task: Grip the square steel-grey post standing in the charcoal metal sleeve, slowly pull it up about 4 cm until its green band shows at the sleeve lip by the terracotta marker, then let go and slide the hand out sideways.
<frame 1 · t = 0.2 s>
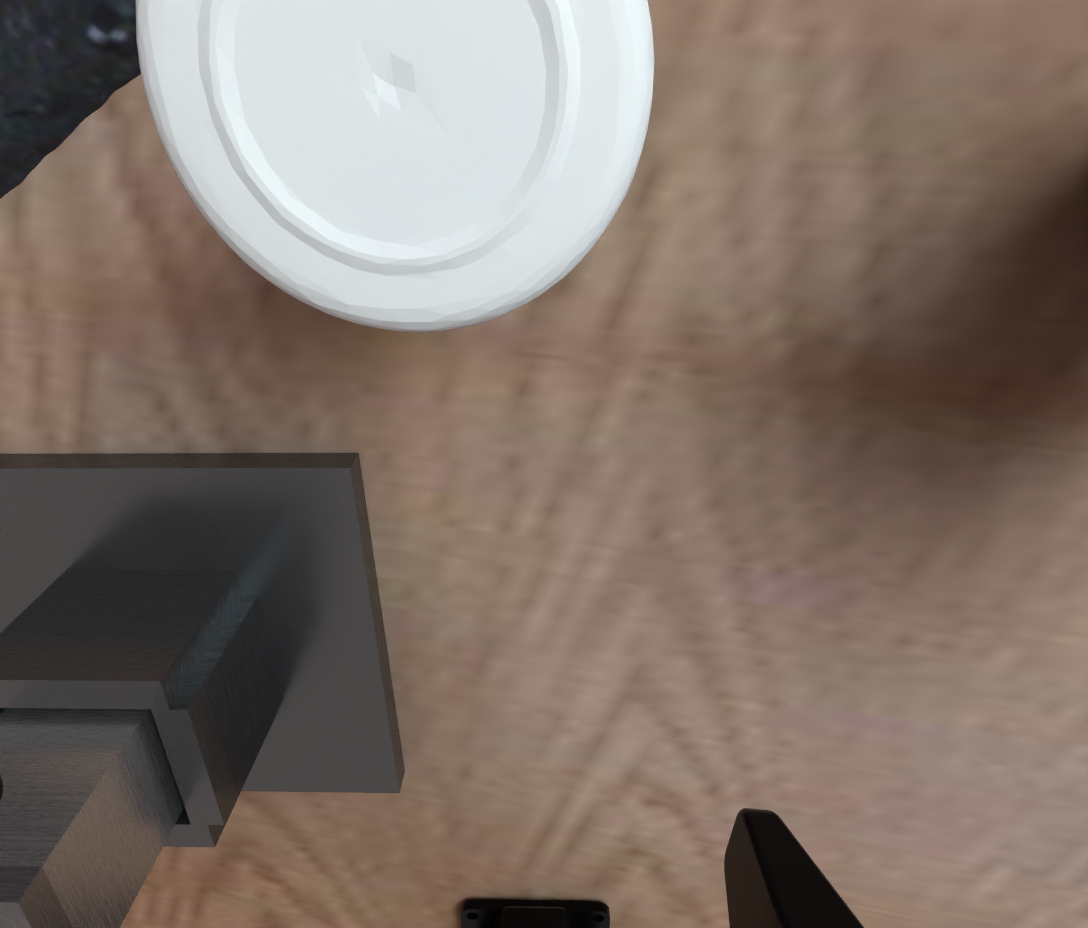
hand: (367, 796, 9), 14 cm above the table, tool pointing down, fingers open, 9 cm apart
column: (90, 771, 21), point 6 cm above the table, slide at 0.0 cm
stand: (189, 630, 26), on the table
sprinkles bottle: (507, 87, 18), on the table
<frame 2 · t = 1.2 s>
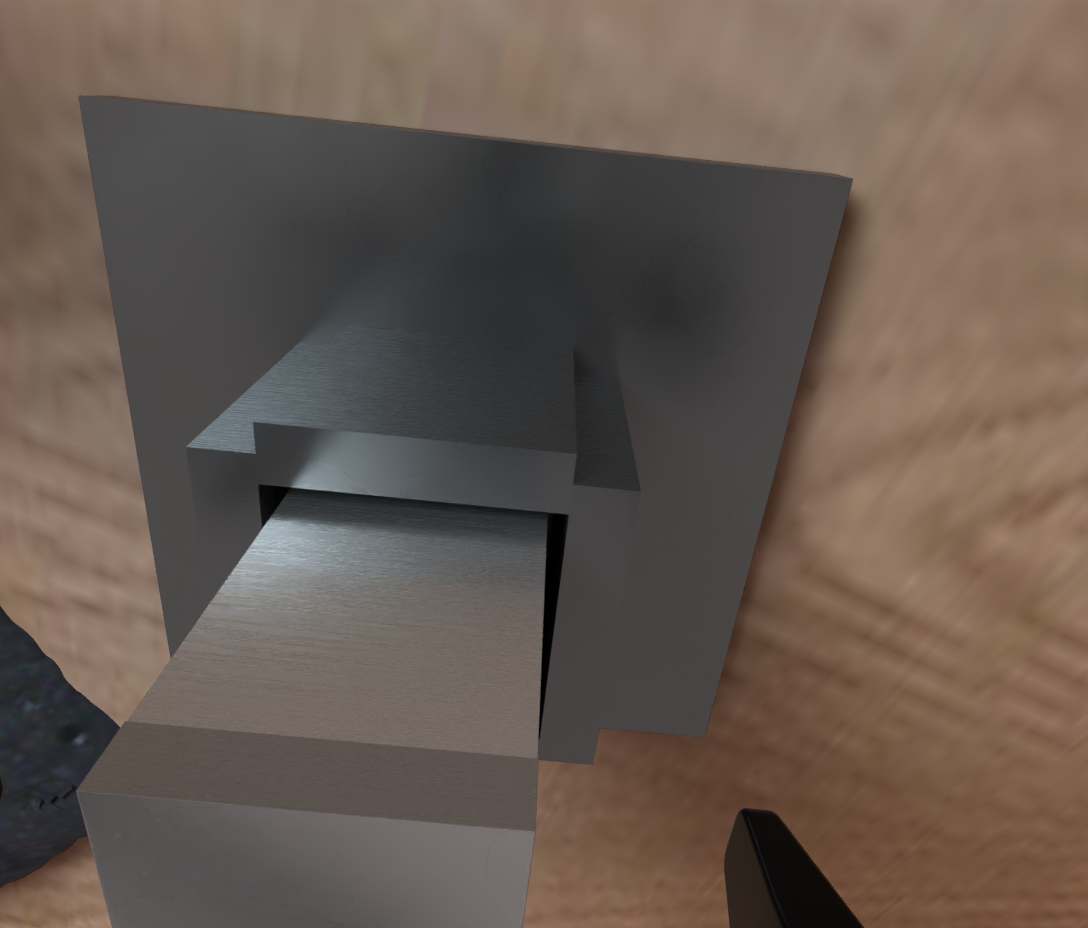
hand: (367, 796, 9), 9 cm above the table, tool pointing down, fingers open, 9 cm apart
column: (410, 627, 12), point 6 cm above the table, slide at 0.0 cm
stand: (459, 460, 17), on the table
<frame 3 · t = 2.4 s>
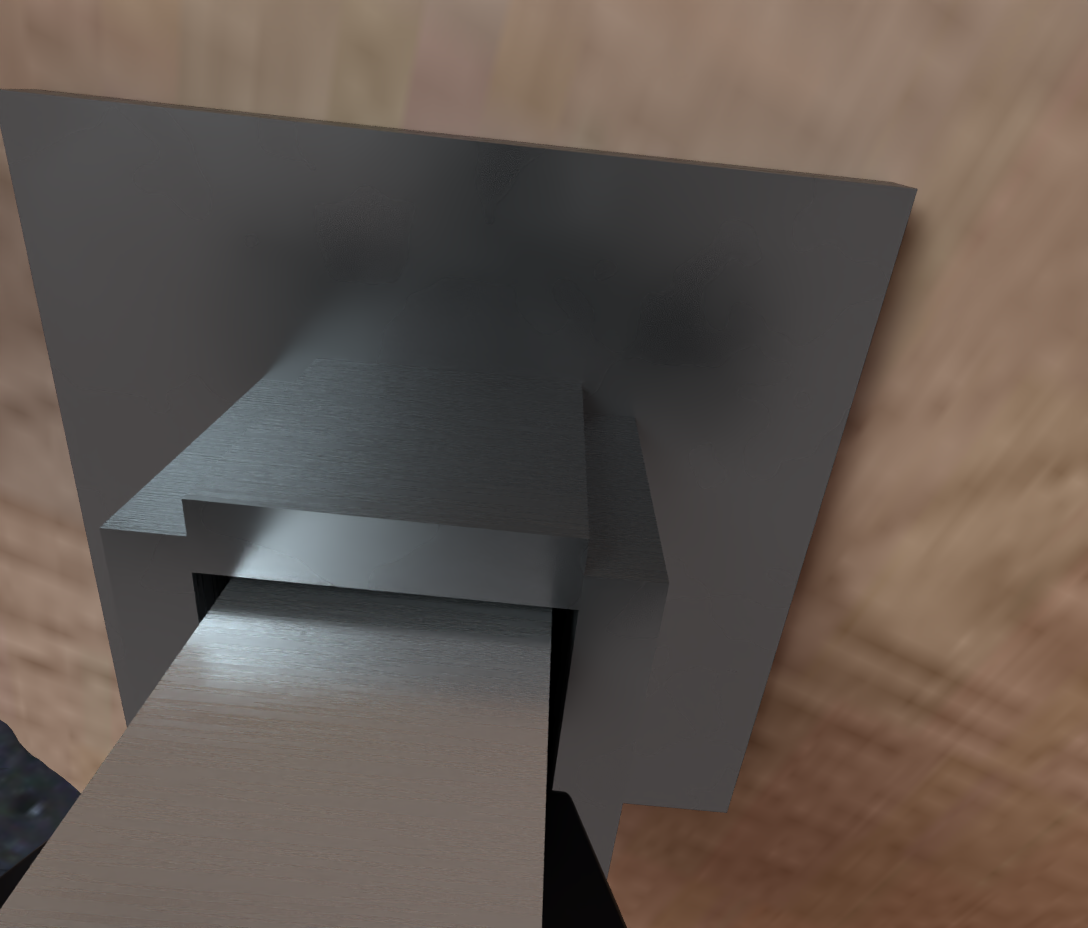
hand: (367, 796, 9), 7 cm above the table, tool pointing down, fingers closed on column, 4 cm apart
column: (384, 737, 10), point 6 cm above the table, slide at 0.0 cm, touching gripper
stand: (450, 507, 15), on the table
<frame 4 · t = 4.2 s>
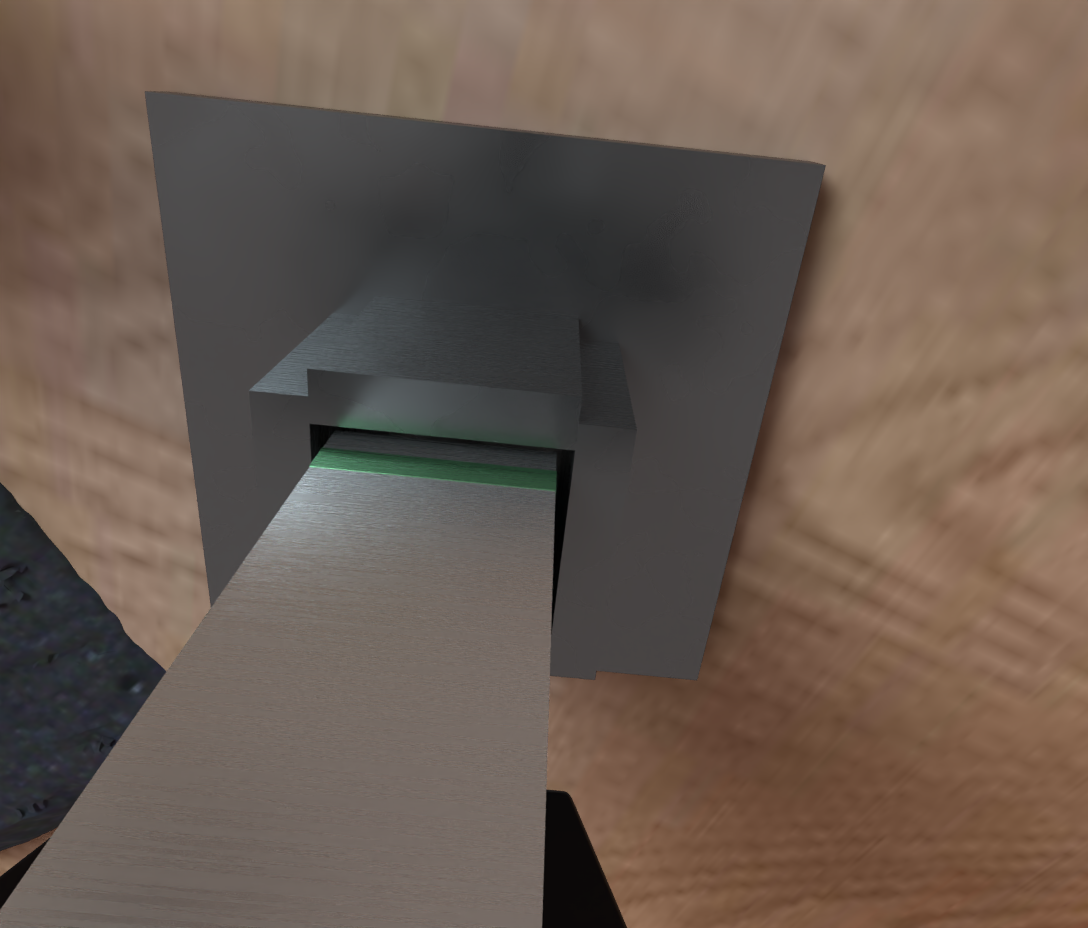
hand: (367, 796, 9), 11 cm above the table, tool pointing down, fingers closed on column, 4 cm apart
column: (384, 737, 10), point 11 cm above the table, slide at 4.4 cm, touching gripper
stand: (474, 422, 19), on the table
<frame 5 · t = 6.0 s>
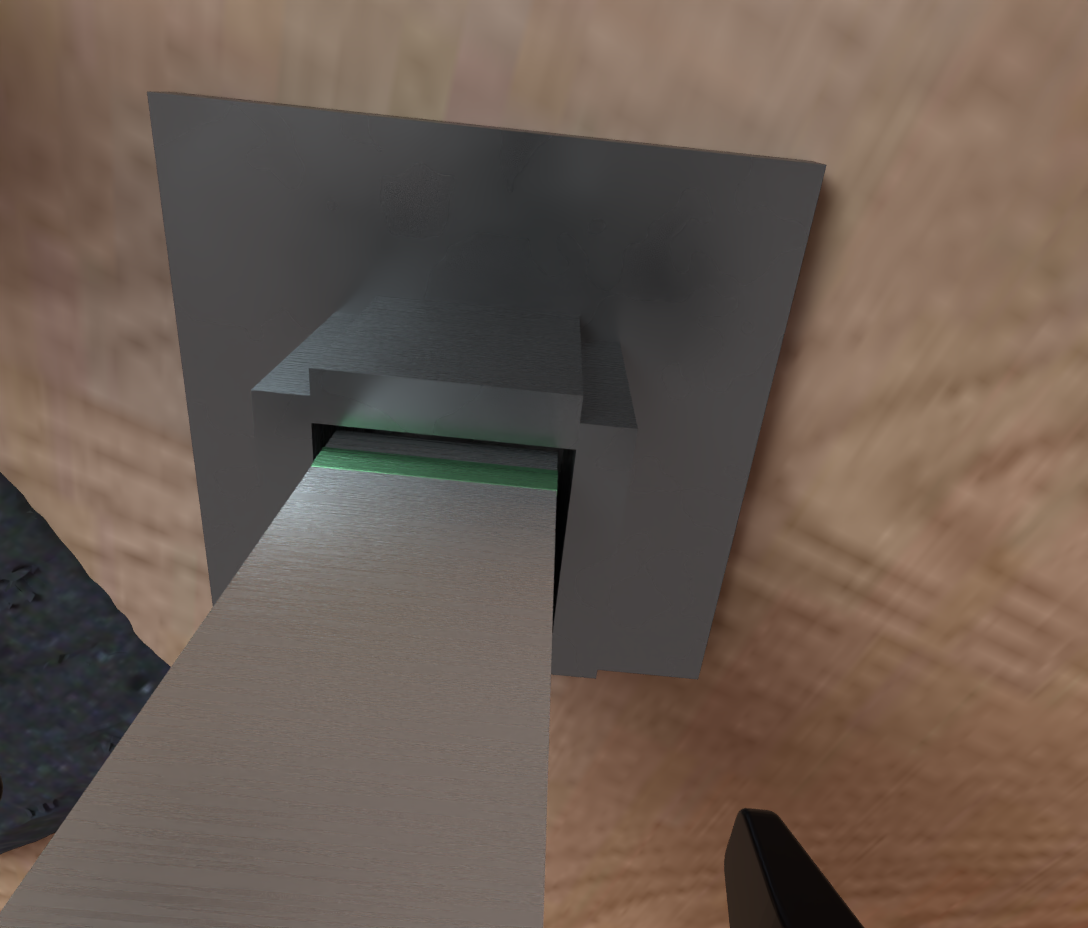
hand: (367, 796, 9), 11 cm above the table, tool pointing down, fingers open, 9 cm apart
column: (385, 736, 10), point 11 cm above the table, slide at 4.4 cm
stand: (475, 421, 19), on the table
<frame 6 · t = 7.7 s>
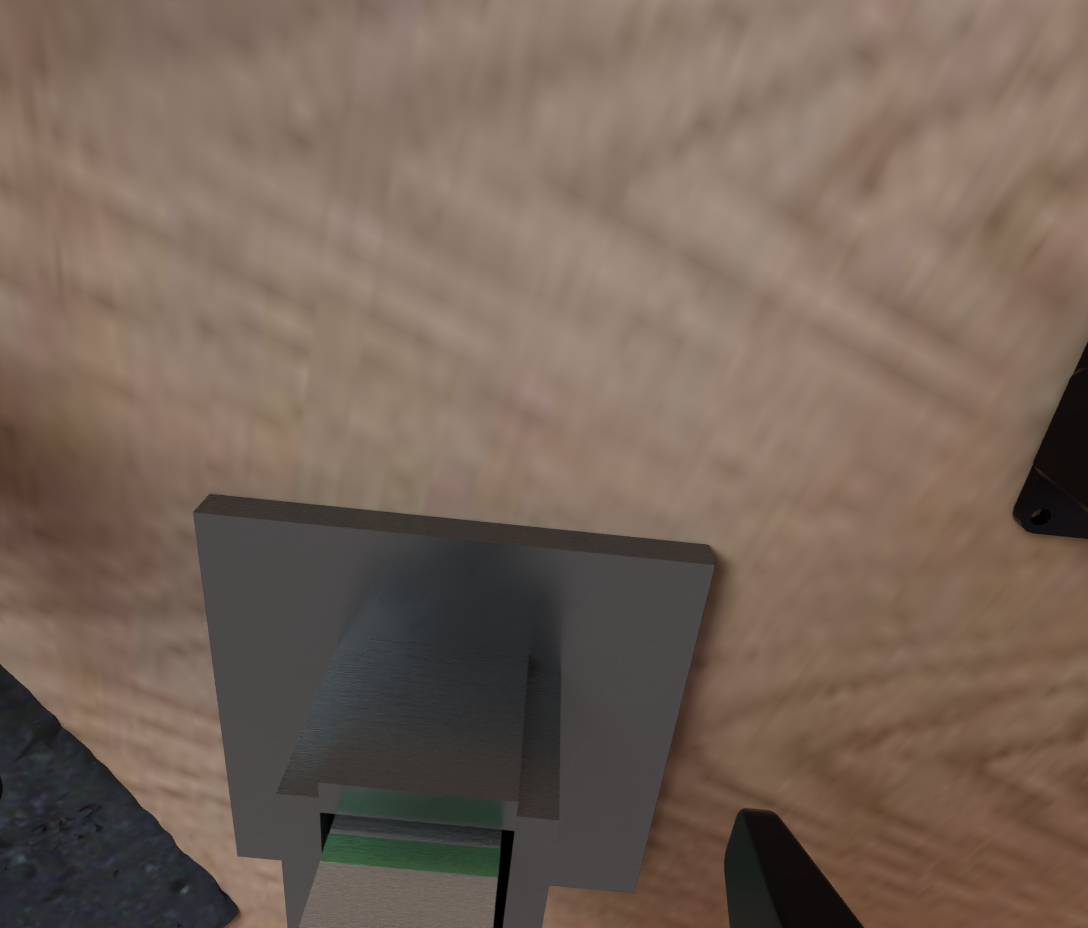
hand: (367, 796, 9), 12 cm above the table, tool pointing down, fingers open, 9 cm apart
stand: (449, 705, 24), on the table
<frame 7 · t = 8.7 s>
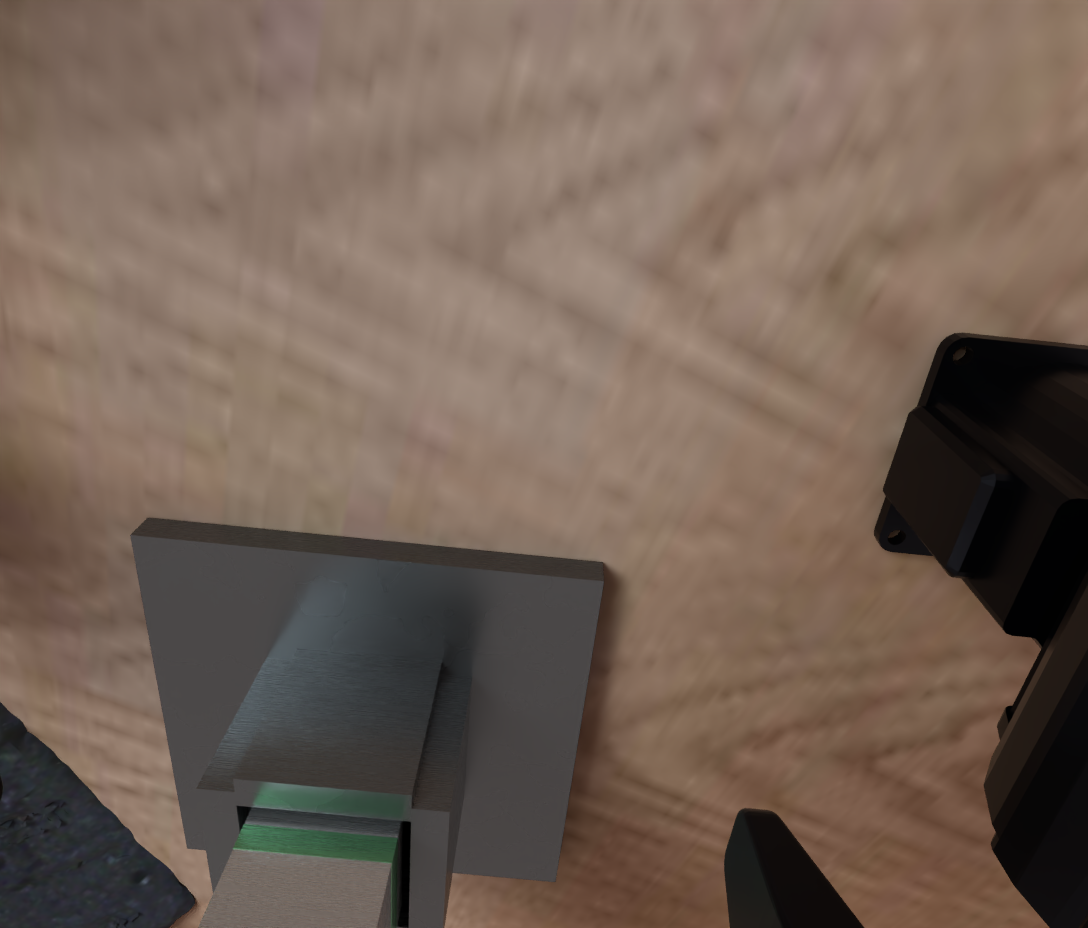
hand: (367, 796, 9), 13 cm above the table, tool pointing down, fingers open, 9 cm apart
stand: (377, 709, 26), on the table
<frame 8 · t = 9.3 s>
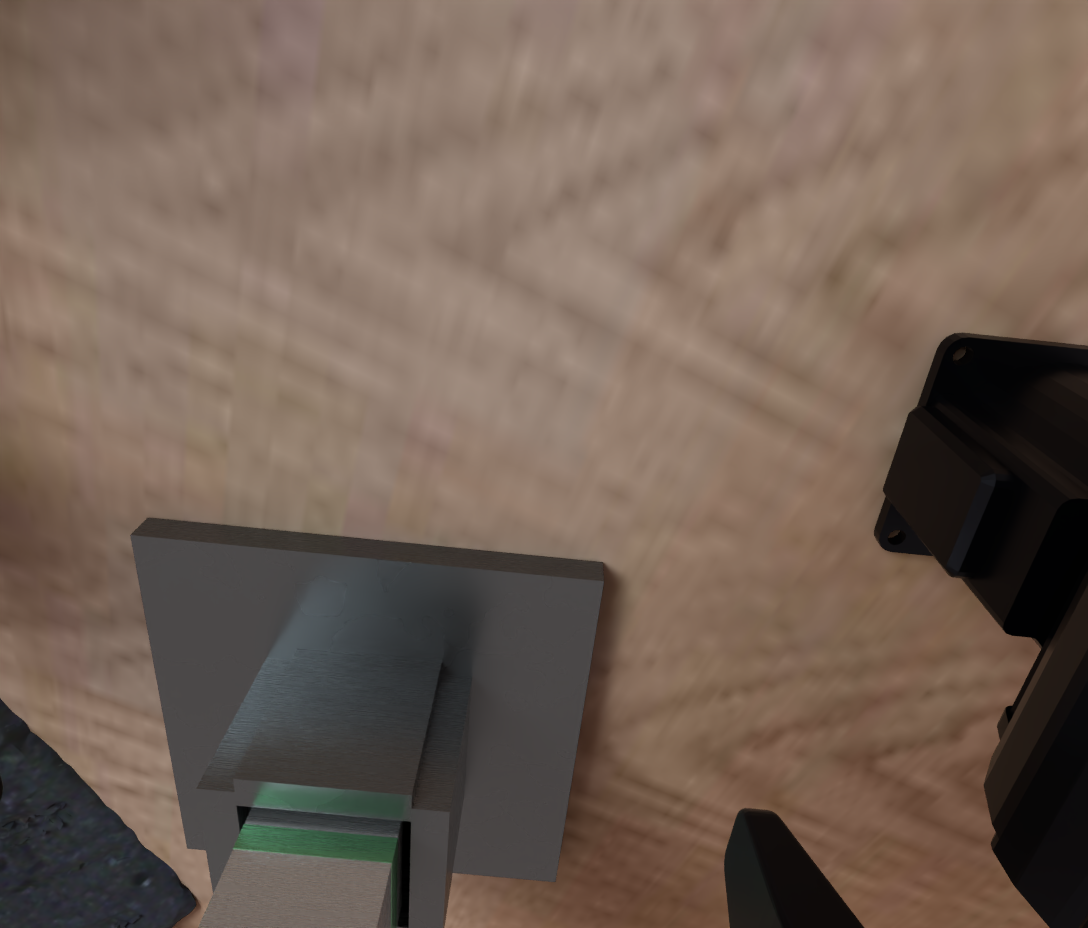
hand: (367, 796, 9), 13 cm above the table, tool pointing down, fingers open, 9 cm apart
stand: (377, 709, 26), on the table
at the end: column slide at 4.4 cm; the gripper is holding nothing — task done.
